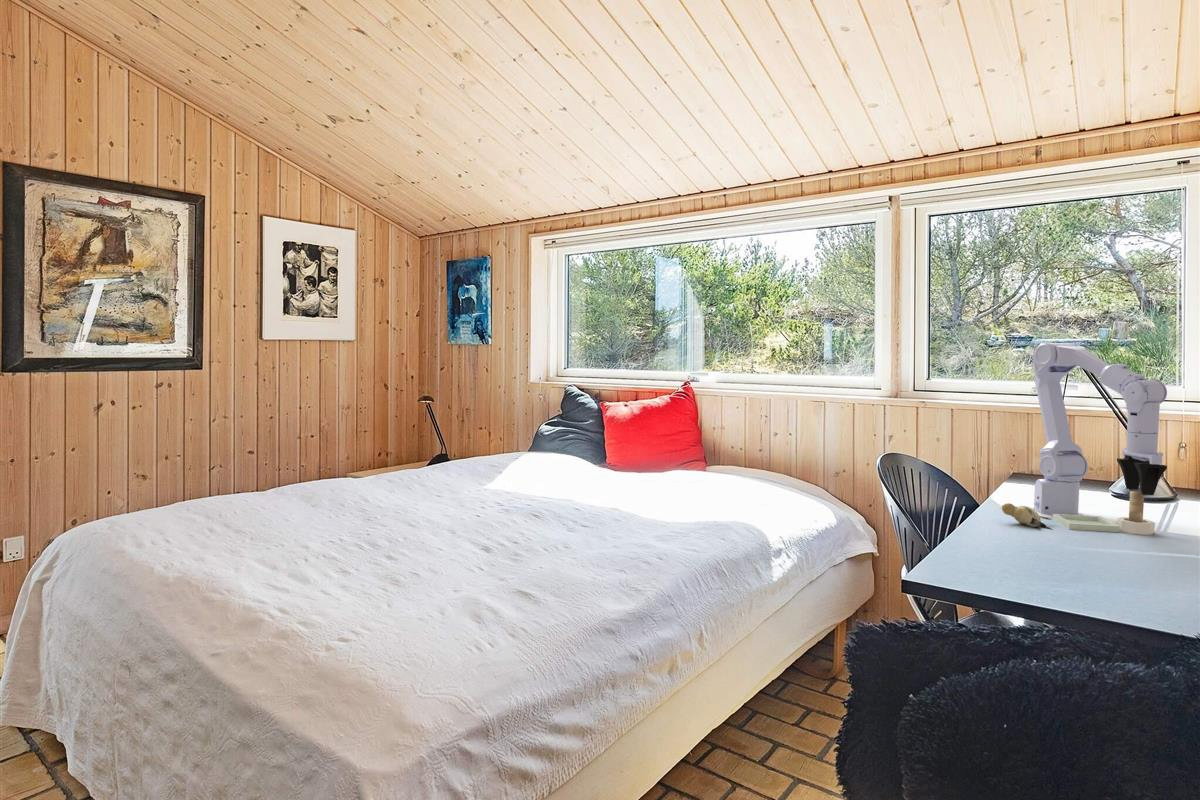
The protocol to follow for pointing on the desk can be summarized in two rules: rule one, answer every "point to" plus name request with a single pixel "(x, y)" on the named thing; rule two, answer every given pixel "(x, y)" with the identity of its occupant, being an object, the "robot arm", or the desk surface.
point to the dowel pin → (1136, 506)
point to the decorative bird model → (1024, 515)
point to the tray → (1085, 522)
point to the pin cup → (1136, 526)
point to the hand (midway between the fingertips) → (1139, 491)
